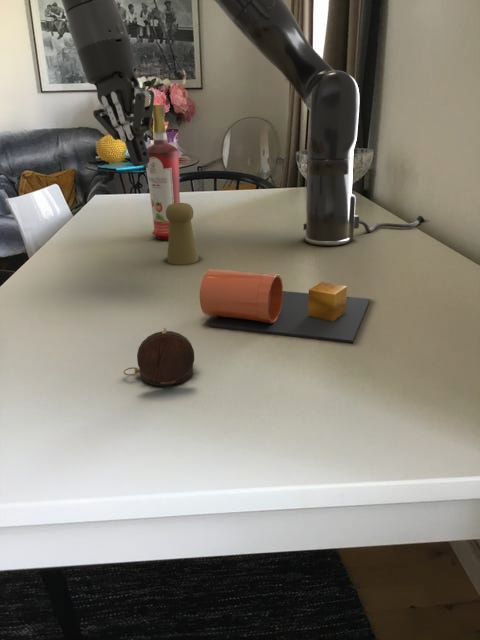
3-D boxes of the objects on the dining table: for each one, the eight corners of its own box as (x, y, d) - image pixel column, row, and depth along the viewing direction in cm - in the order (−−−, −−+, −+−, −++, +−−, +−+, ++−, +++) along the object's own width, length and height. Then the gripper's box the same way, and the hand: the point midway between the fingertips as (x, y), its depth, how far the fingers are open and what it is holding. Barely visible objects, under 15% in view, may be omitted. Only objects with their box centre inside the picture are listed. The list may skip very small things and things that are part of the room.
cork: (193, 265, 107) (189, 206, 103) (163, 264, 108) (158, 206, 104) (202, 256, 112) (198, 200, 108) (172, 255, 114) (168, 200, 109)
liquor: (145, 240, 126) (132, 106, 115) (162, 232, 132) (151, 104, 121) (175, 242, 123) (164, 105, 112) (190, 234, 129) (181, 103, 119)
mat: (209, 326, 79) (208, 324, 79) (246, 290, 93) (246, 287, 93) (352, 343, 73) (352, 340, 72) (369, 301, 86) (370, 298, 86)
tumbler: (212, 259, 81) (279, 264, 78) (222, 293, 86) (285, 300, 82) (195, 290, 77) (264, 297, 73) (206, 324, 81) (271, 333, 78)
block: (321, 281, 82) (321, 307, 84) (308, 289, 79) (308, 316, 81) (347, 286, 80) (345, 312, 81) (334, 294, 77) (333, 321, 78)
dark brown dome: (190, 360, 69) (186, 304, 67) (197, 391, 62) (193, 330, 59) (124, 366, 68) (117, 310, 66) (123, 399, 61) (115, 337, 58)
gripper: (56, 59, 82) (98, 177, 88) (106, 30, 73) (149, 164, 79) (98, 52, 87) (135, 164, 93) (150, 25, 77) (188, 151, 83)
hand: (142, 164), depth 86 cm, fingers closed
